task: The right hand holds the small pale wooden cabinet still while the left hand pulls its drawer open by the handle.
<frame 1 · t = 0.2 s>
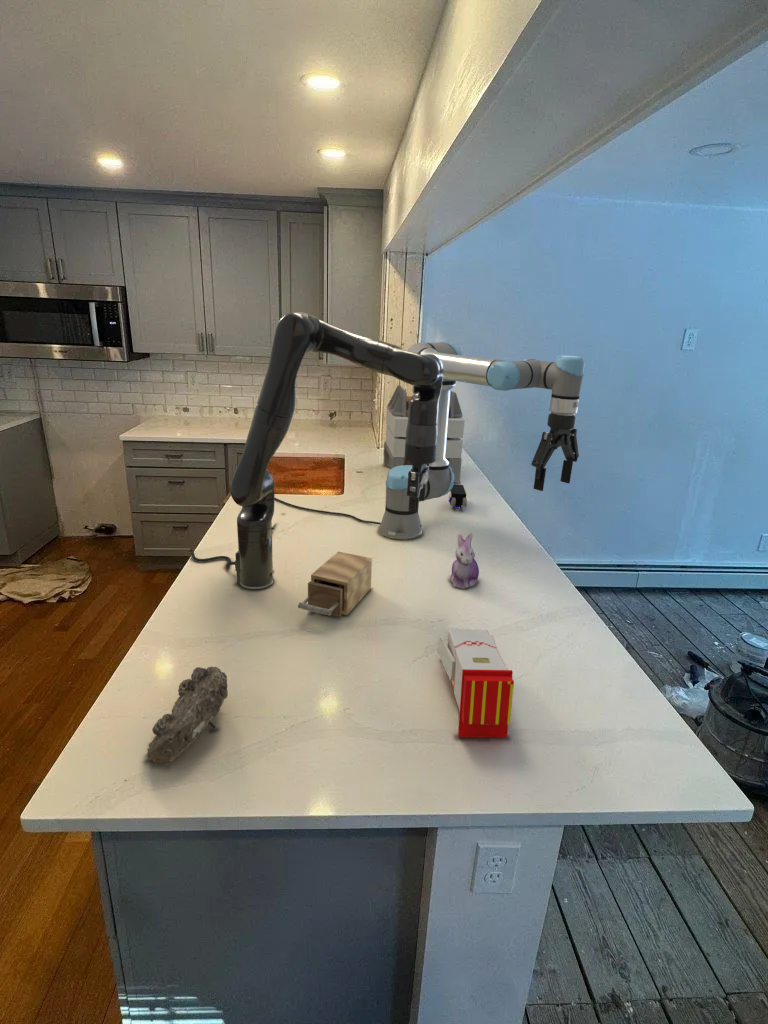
left hand: (416, 505, 140), 29 cm above the counter, tool pointing down, fingers open, 8 cm apart
right hand: (551, 486, 166), 28 cm above the counter, tool pointing down, fingers open, 13 cm apart
toy: (469, 691, 119), on the counter
cabinet: (342, 597, 155), on the counter
fossil: (195, 725, 106), on the counter
figurine: (464, 582, 166), on the counter
grey slatted crate: (419, 473, 275), on the counter
feather: (274, 527, 201), on the counter
figurine character: (456, 506, 231), on the counter
drawer: (332, 592, 147), point 5 cm above the counter, slide at 1.6 cm
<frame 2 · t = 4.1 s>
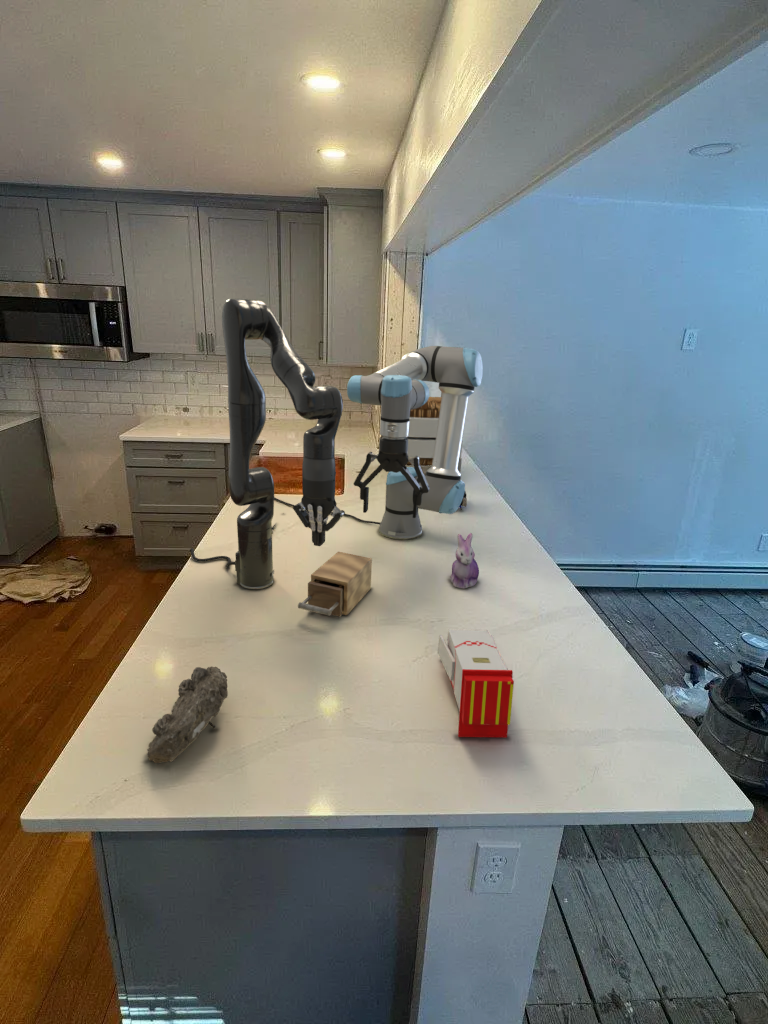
left hand: (318, 544, 135), 21 cm above the counter, tool pointing down, fingers closed
right hand: (389, 513, 154), 22 cm above the counter, tool pointing down, fingers open, 13 cm apart
nothing on the counter moved.
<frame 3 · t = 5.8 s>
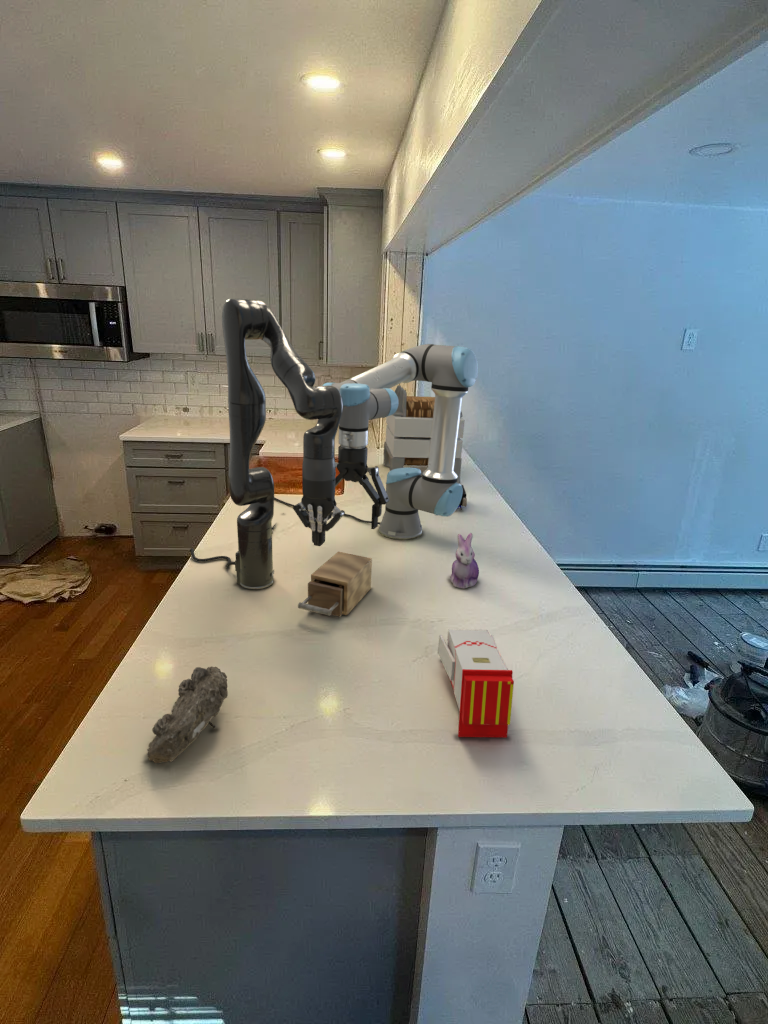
left hand: (318, 544, 135), 21 cm above the counter, tool pointing down, fingers closed
right hand: (350, 523, 152), 20 cm above the counter, tool pointing down, fingers open, 13 cm apart
nothing on the counter moved.
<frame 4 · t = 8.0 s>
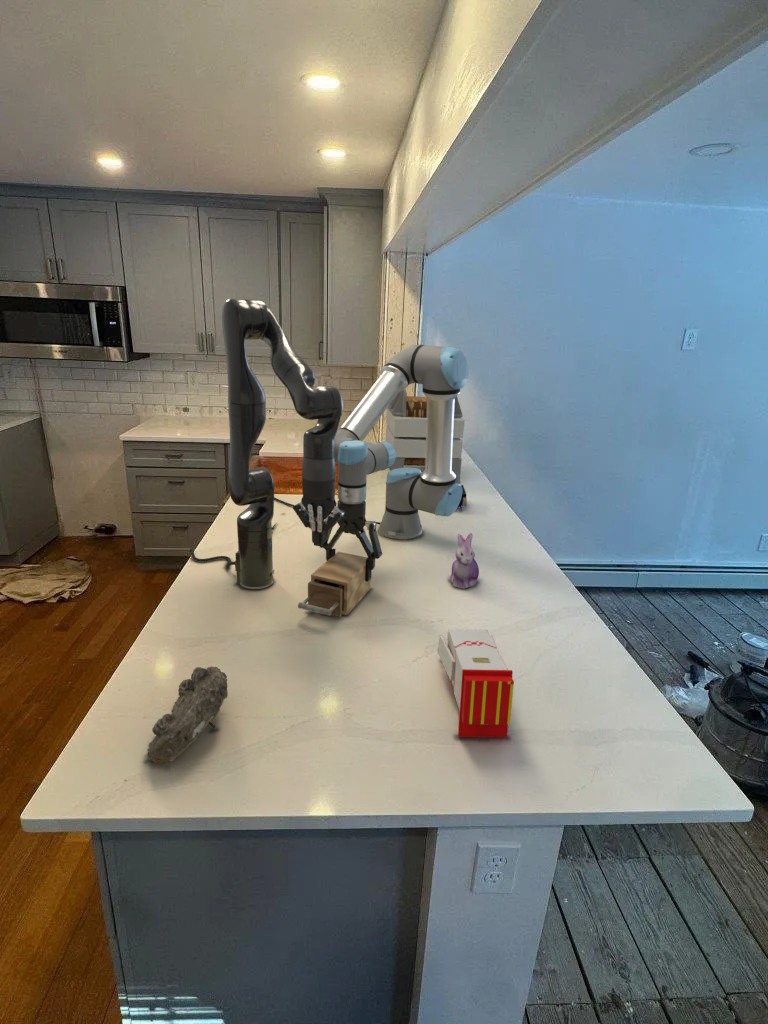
left hand: (318, 544, 135), 21 cm above the counter, tool pointing down, fingers closed
right hand: (349, 575, 157), 4 cm above the counter, tool pointing down, fingers closed on cabinet, 10 cm apart
cabinet: (342, 597, 155), on the counter, touching right hand
everything else where it was.
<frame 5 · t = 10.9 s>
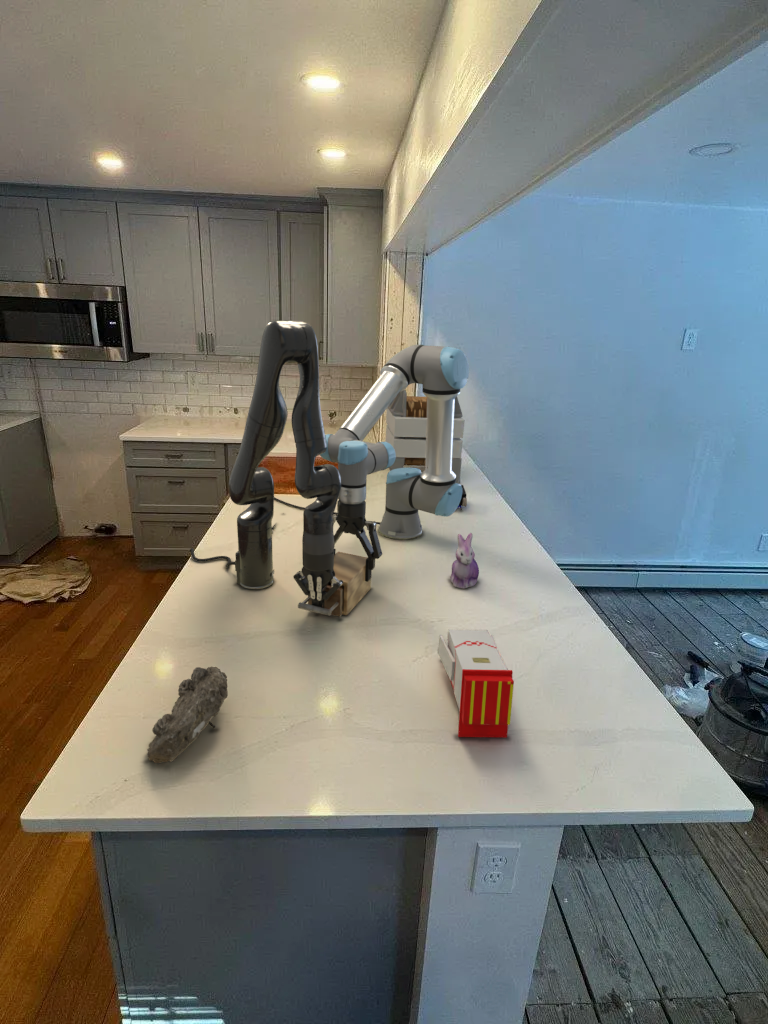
left hand: (318, 611, 141), 3 cm above the counter, tool pointing down, fingers closed
right hand: (349, 575, 157), 4 cm above the counter, tool pointing down, fingers closed on cabinet, 10 cm apart
cabinet: (341, 597, 155), on the counter, touching right hand
drawer: (331, 592, 147), point 5 cm above the counter, slide at 1.6 cm, touching left hand
everything else where it was.
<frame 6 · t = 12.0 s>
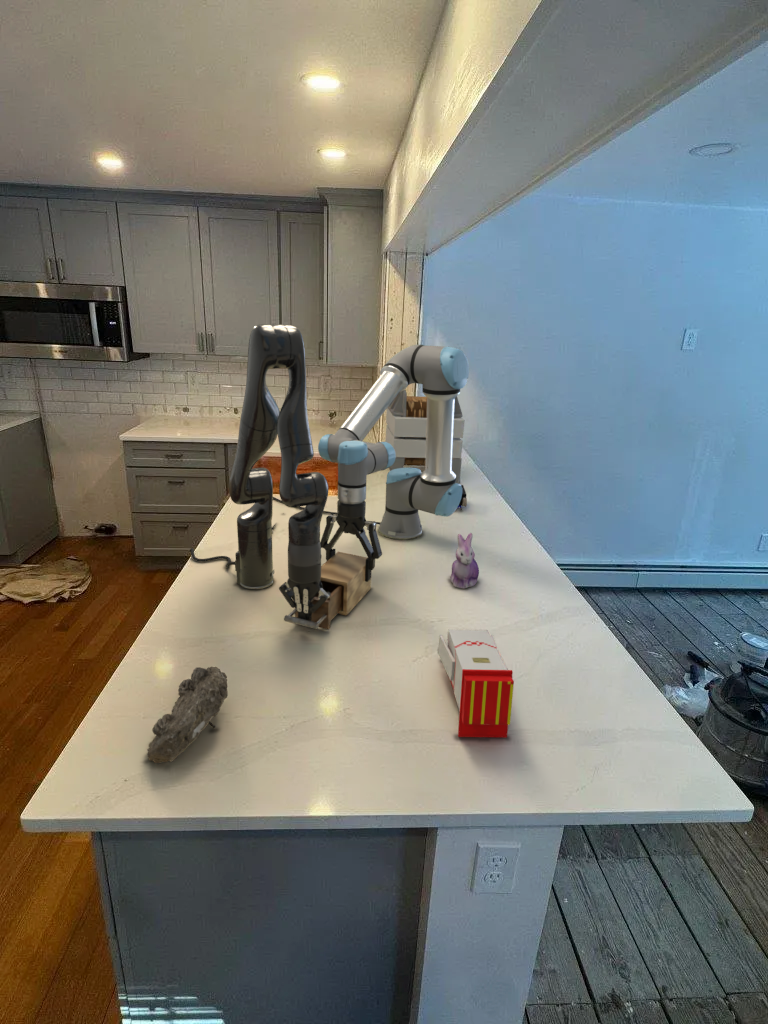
left hand: (305, 624, 135), 3 cm above the counter, tool pointing down, fingers closed
right hand: (349, 575, 157), 4 cm above the counter, tool pointing down, fingers closed on cabinet, 10 cm apart
cabinet: (341, 597, 154), on the counter, touching right hand
drawer: (320, 603, 141), point 5 cm above the counter, slide at 8.2 cm, touching left hand
everything else where it was.
when the right hand's fingers open (4 cm above the counter, at t = 13.7 s): cabinet stays where it is, on the counter.
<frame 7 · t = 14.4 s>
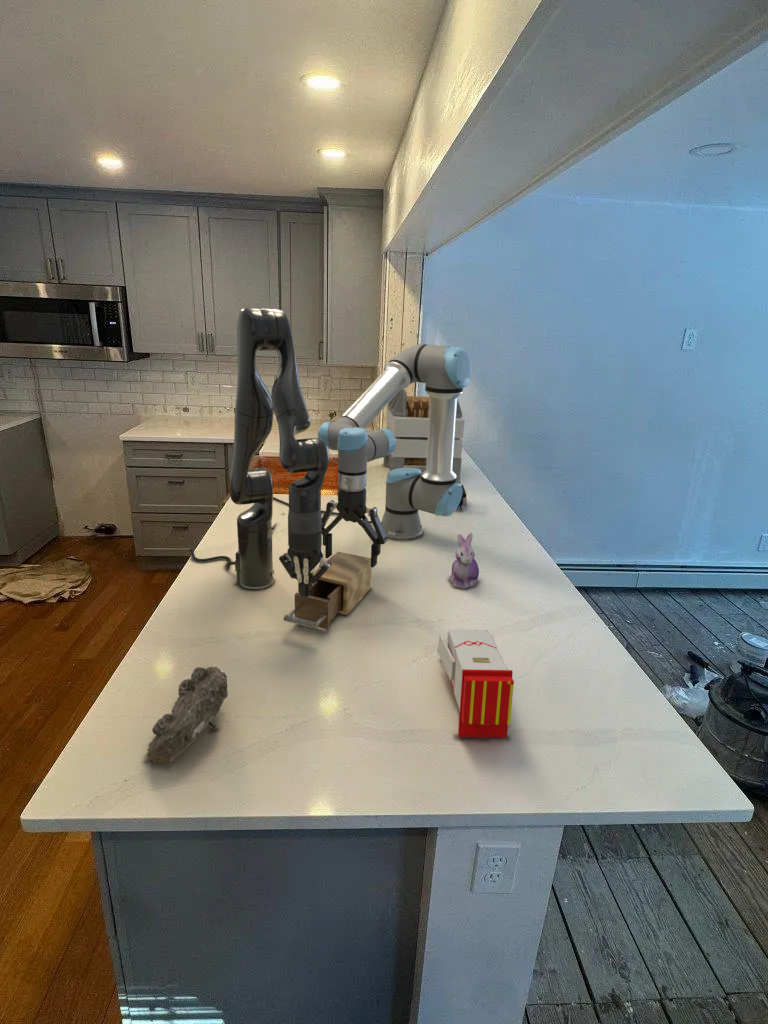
left hand: (305, 595, 133), 11 cm above the counter, tool pointing down, fingers closed
right hand: (351, 561, 156), 9 cm above the counter, tool pointing down, fingers open, 13 cm apart
cabinet: (341, 597, 155), on the counter
drawer: (320, 603, 141), point 5 cm above the counter, slide at 8.3 cm
everything else where it was.
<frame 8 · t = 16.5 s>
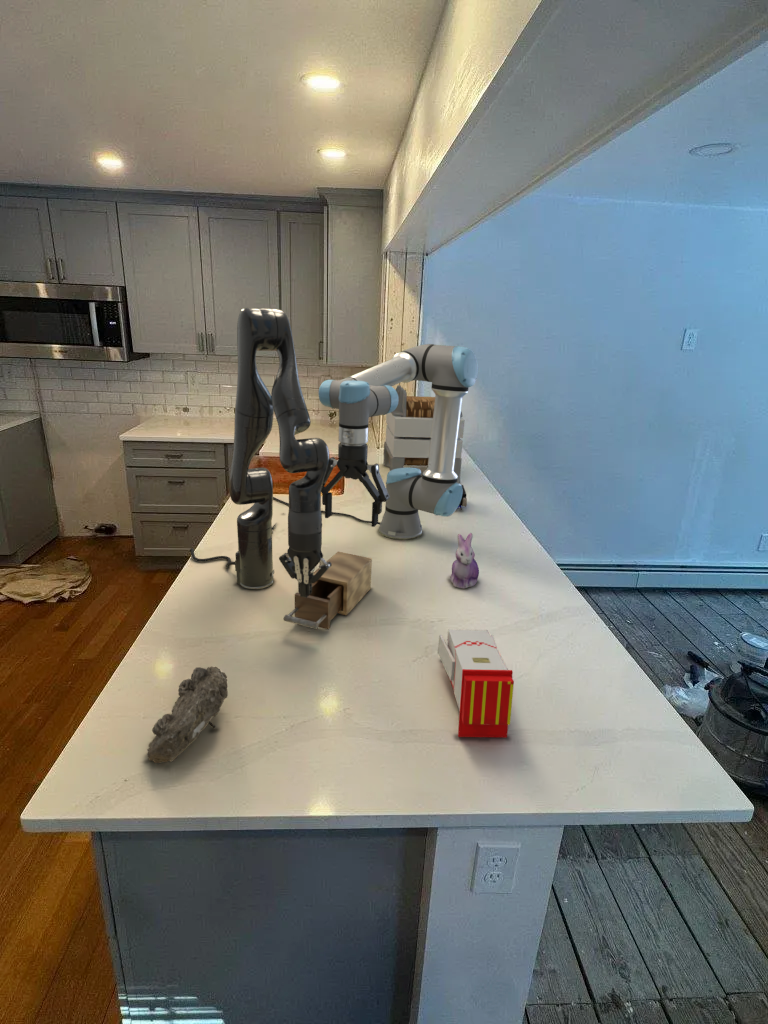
left hand: (305, 595, 133), 11 cm above the counter, tool pointing down, fingers closed
right hand: (351, 520, 152), 21 cm above the counter, tool pointing down, fingers open, 13 cm apart
nothing on the counter moved.
at the end: drawer slide at 8.3 cm; cabinet tilted 0°; cabinet never tilted more than 1° during the clip; cabinet moved 0.1 cm from its start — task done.
